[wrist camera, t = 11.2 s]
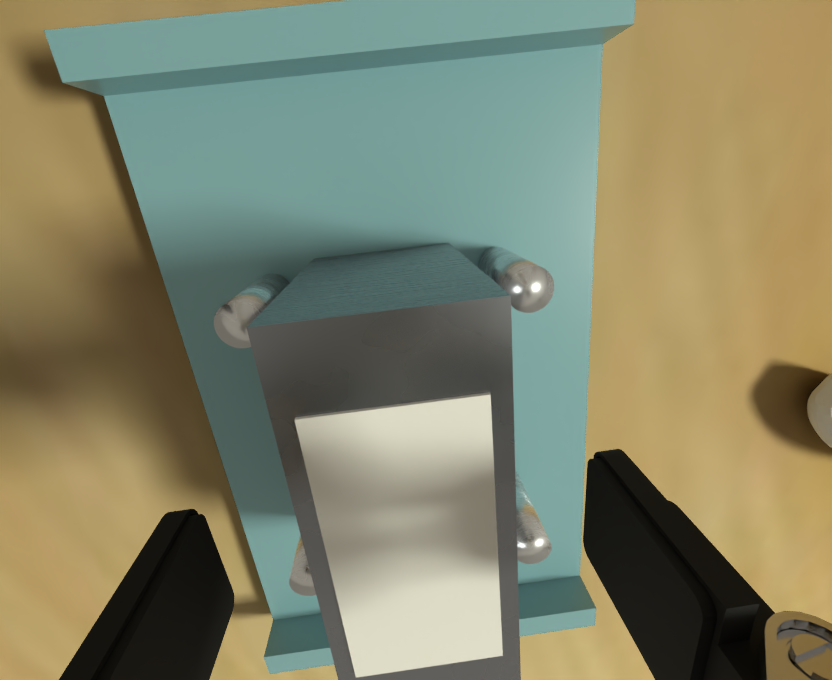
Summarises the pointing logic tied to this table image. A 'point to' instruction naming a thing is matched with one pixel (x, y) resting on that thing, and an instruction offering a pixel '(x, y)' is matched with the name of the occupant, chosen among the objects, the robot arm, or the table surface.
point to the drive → (400, 458)
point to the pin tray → (371, 221)
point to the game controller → (822, 410)
